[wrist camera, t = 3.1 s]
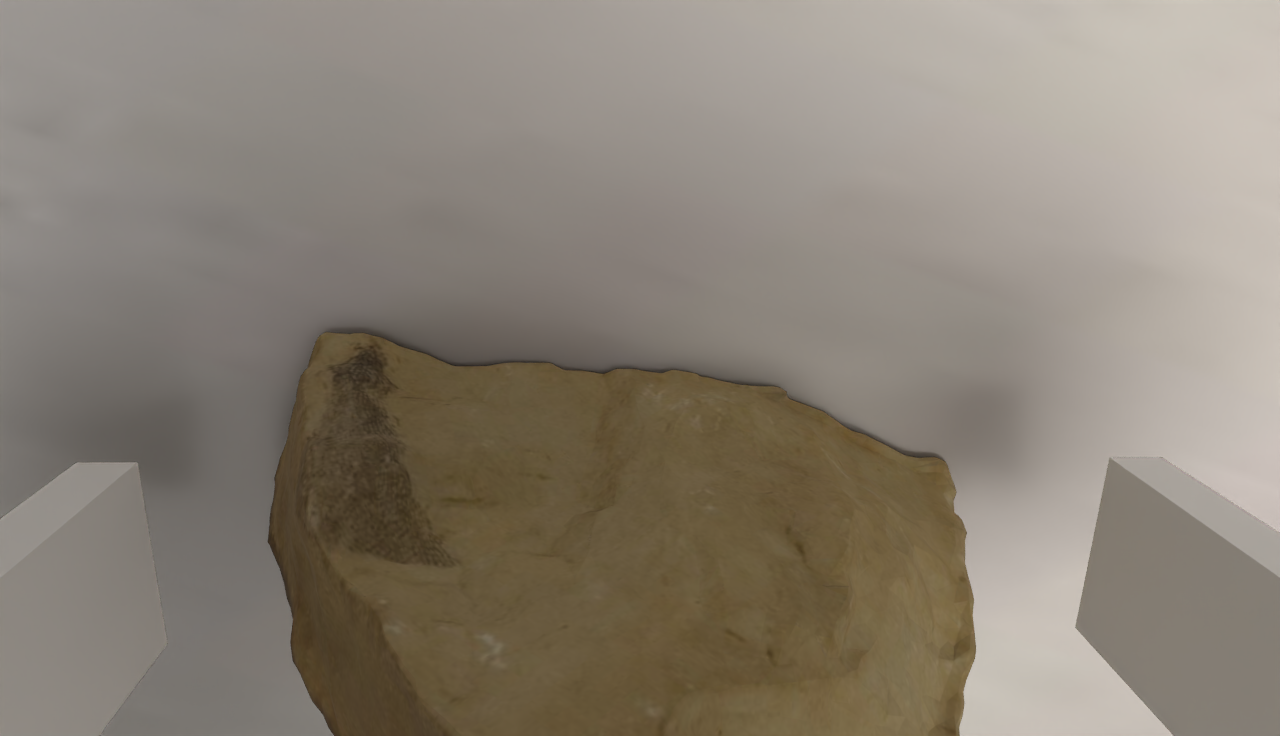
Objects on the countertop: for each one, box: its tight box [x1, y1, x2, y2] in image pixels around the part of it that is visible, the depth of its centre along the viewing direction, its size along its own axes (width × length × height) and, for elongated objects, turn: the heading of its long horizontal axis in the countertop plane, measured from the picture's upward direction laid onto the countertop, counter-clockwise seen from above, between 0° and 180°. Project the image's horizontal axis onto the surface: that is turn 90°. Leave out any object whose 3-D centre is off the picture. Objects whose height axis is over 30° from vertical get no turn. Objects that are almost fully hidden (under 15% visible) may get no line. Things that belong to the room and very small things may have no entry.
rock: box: [268, 332, 976, 736], centre depth 12 cm, size 11×9×10 cm
